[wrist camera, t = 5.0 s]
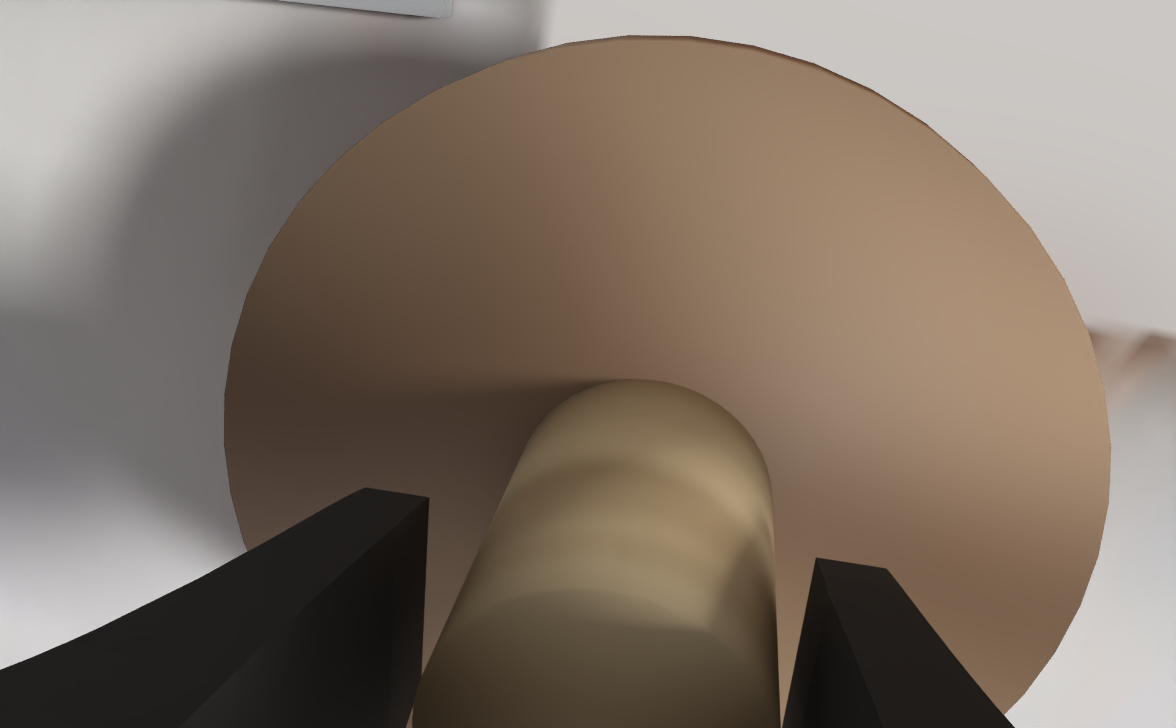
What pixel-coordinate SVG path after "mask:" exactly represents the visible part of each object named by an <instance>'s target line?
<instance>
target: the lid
mask: <svg viewBox="0 0 1176 728" xmlns="http://www.w3.org/2000/svg"><path fill="white" fill-rule="evenodd" d="M224 447H225V454H226V462H227V470H228V477H229V485H230V492H231V497H232V501H233V504H234V508H235V512H236V515H237V519H238V523H239V527H240V530H241V534H242V538H243V541H244V544H245V546H246V549H247V551H249V550H251V549H253V548H255V547H257V546H258V545H260V544H262V543H264V542H266V541H267V540H269V539H271V538H273V537H275V536H276V535H278V534H280V533H282V532H283V531H285V530H287V529H289V528H290V527H292V526H294V525H296V524H297V523H299V522H301V521H303V520H305V519H306V518H308V517H310V516H312V515H313V514H315V513H317V512H319V511H320V510H322V509H324V508H326V507H327V506H329V505H331V504H333V503H335V502H337V501H338V500H340V499H342V498H344V497H346V496H348V495H350V494H352V493H354V492H356V491H358V490H360V489H362V488H365V487H367V488H373V489H380V490H386V491H393V492H399V493H405V494H412V495H418V496H425V497H429V519H428V541H427V564H426V586H425V609H424V631H423V654H422V676H421V679H420V681H419V683H418V687H417V691H416V695H415V699H414V704H413V708H412V711H411V714H410V717H409V720H408V723H407V726H406V728H782V725H783V720H784V715H785V710H786V705H787V700H788V695H789V690H790V685H791V680H792V675H793V670H794V665H795V660H796V654H797V649H798V644H799V639H800V634H801V629H802V624H803V619H804V614H805V609H806V604H807V599H808V594H809V589H810V584H811V579H812V574H813V569H814V564H815V559H816V557H817V558H824V559H830V560H837V561H843V562H850V563H856V564H862V565H869V566H875V567H882V568H887V569H888V571H889V572H890V573H891V574H892V576H893V577H894V578H895V579H896V581H897V582H898V583H899V584H900V586H901V587H902V588H903V590H904V591H905V592H906V594H907V595H908V596H909V597H910V599H911V600H912V601H913V603H914V604H915V605H916V607H917V608H918V609H919V611H920V612H921V613H922V614H923V616H924V617H925V618H926V620H927V621H928V622H929V624H930V625H931V626H932V627H933V629H934V630H935V631H936V633H937V634H938V635H939V636H940V638H941V639H942V640H943V641H944V643H945V644H946V645H947V647H948V648H949V649H950V650H951V652H952V653H953V654H954V656H955V657H956V658H957V659H958V660H959V662H960V663H961V664H962V665H963V667H964V668H965V669H966V670H967V672H968V673H969V674H970V675H971V677H972V678H973V679H974V680H975V681H976V683H977V684H978V685H979V686H980V687H981V689H982V690H983V691H984V692H985V693H986V695H987V696H988V697H989V698H990V699H991V701H992V702H993V703H994V704H995V705H996V707H997V708H998V709H999V710H1000V711H1001V712H1002V714H1003V715H1004V714H1005V713H1006V712H1007V711H1008V710H1009V709H1010V708H1011V707H1012V706H1013V705H1014V704H1015V703H1016V702H1017V701H1018V700H1019V699H1020V698H1021V697H1022V696H1023V695H1024V694H1025V692H1026V691H1027V690H1028V688H1029V687H1030V686H1031V684H1032V683H1033V682H1034V680H1035V679H1036V678H1037V676H1038V675H1039V674H1040V672H1041V671H1042V669H1043V668H1044V667H1045V665H1046V664H1047V663H1048V661H1049V660H1050V659H1051V657H1052V656H1053V655H1054V653H1055V652H1056V650H1057V648H1058V646H1059V644H1060V642H1061V641H1062V639H1063V637H1064V635H1065V633H1066V631H1067V629H1068V628H1069V626H1070V624H1071V622H1072V620H1073V618H1074V616H1075V615H1076V613H1077V611H1078V609H1079V607H1080V605H1081V602H1082V599H1083V597H1084V594H1085V591H1086V588H1087V586H1088V583H1089V580H1090V577H1091V575H1092V572H1093V569H1094V566H1095V564H1096V561H1097V558H1098V555H1099V550H1100V544H1101V539H1102V534H1103V529H1104V524H1105V519H1106V514H1107V509H1108V504H1109V485H1110V461H1111V443H1110V434H1109V425H1108V416H1107V408H1106V399H1105V391H1104V387H1103V383H1102V380H1101V376H1100V372H1099V369H1098V365H1097V362H1096V358H1095V354H1094V351H1093V347H1092V343H1091V340H1090V336H1089V333H1088V331H1087V329H1086V327H1085V324H1084V322H1083V320H1082V318H1081V315H1080V313H1079V311H1078V309H1077V307H1076V304H1075V302H1074V300H1073V298H1072V295H1071V293H1070V291H1069V289H1068V287H1067V284H1066V282H1065V280H1064V278H1063V277H1062V275H1061V273H1060V272H1059V270H1058V269H1057V267H1056V266H1055V264H1054V263H1053V261H1052V260H1051V258H1050V257H1049V255H1048V253H1047V252H1046V251H1045V249H1044V247H1043V246H1042V244H1041V243H1040V241H1039V240H1038V238H1037V236H1036V235H1035V233H1034V232H1033V230H1032V229H1031V227H1030V226H1029V225H1028V224H1027V223H1026V221H1025V220H1024V219H1023V218H1022V217H1021V216H1020V215H1019V213H1018V212H1017V211H1016V210H1015V209H1014V208H1013V207H1012V205H1011V204H1010V203H1009V202H1008V201H1007V200H1006V199H1005V197H1004V196H1003V195H1002V194H1001V193H1000V192H999V191H998V190H997V188H996V187H995V186H994V185H993V184H992V183H991V182H990V180H989V179H988V178H987V177H986V176H984V174H983V173H982V172H981V171H980V170H979V169H978V168H977V167H976V166H975V165H974V164H973V163H971V162H970V161H969V160H968V159H967V158H966V157H965V156H963V155H962V154H961V153H960V152H958V151H957V150H956V149H955V148H954V147H953V146H952V145H950V144H949V143H948V142H947V141H946V140H945V139H943V138H942V137H941V136H940V135H939V134H937V133H936V132H935V131H934V130H933V129H932V128H930V127H929V126H928V125H927V124H926V123H924V122H923V121H921V120H919V119H918V118H916V117H914V116H913V115H912V114H910V113H909V112H906V111H905V110H904V109H902V108H900V107H899V106H897V105H896V104H894V103H893V102H891V101H889V100H888V99H886V98H885V97H883V96H881V95H880V94H878V93H877V92H875V91H874V90H872V89H870V88H868V87H865V86H863V85H861V84H859V83H857V82H854V81H852V80H850V79H848V78H845V77H843V76H841V75H839V74H837V73H834V72H832V71H830V70H828V69H826V68H823V67H821V66H819V65H816V64H814V63H811V62H808V61H804V60H801V59H797V58H794V57H790V56H787V55H784V54H780V53H777V52H773V51H770V50H767V49H763V48H760V47H757V46H753V45H746V44H740V43H733V42H726V41H719V40H713V39H706V38H700V37H693V36H640V35H639V36H638V35H628V36H620V37H612V38H603V39H595V40H587V41H580V42H572V43H565V44H562V45H558V46H554V47H550V48H547V49H543V50H539V51H535V52H532V53H528V54H524V55H521V56H517V57H513V58H509V59H507V60H505V61H502V62H500V63H498V64H495V65H493V66H490V67H488V68H486V69H483V70H481V71H479V72H476V73H474V74H472V75H469V76H467V77H465V78H462V79H460V80H458V81H455V82H453V83H451V84H449V85H446V86H444V87H442V88H440V89H438V90H436V91H434V92H432V93H430V94H429V95H427V96H425V97H424V98H422V99H420V100H419V101H417V102H415V103H414V104H412V105H410V106H409V107H407V108H406V109H404V110H402V111H401V112H399V113H397V114H396V115H394V116H392V117H391V118H389V119H387V120H386V121H384V122H382V123H381V124H380V125H379V126H378V127H376V128H375V129H374V130H373V131H372V132H370V133H369V134H368V135H367V136H365V137H364V138H363V139H362V140H361V141H359V142H358V143H357V144H356V145H355V146H353V147H352V148H351V149H350V150H349V151H347V152H346V153H345V154H344V155H342V156H341V157H340V158H339V159H338V160H337V161H336V162H335V163H334V164H333V165H332V166H331V167H330V168H329V170H328V171H327V172H326V173H325V174H324V175H323V176H322V177H321V178H320V180H319V181H318V182H317V183H316V184H315V185H314V186H313V187H312V188H311V189H310V191H309V192H308V193H307V194H306V195H305V196H304V197H303V198H302V199H301V201H300V202H299V203H298V205H297V206H296V208H295V209H294V211H293V212H292V214H291V215H290V217H289V218H288V220H287V221H286V223H285V224H284V226H283V227H282V229H281V230H280V232H279V233H278V235H277V236H276V238H275V239H274V241H273V242H272V244H271V245H270V247H269V249H268V251H267V253H266V255H265V257H264V260H263V262H262V264H261V266H260V268H259V270H258V272H257V275H256V277H255V279H254V281H253V283H252V285H251V287H250V289H249V292H248V294H247V296H246V300H245V303H244V306H243V310H242V313H241V316H240V320H239V323H238V326H237V330H236V333H235V336H234V340H233V343H232V348H231V355H230V361H229V368H228V375H227V382H226V388H225V400H224Z"/></svg>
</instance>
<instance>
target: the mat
mask: <svg viewBox="0 0 1176 728" xmlns="http://www.w3.org/2000/svg"><path fill="white" fill-rule="evenodd" d="M280 1H289V2H298V3H307V4H316V5H325V6H335V7H344V8H353V9H362V10H371V11H380V12H389V13H398V14H407V15H416V16H425V17H434V18H446V17H450V16H452V1H453V0H280Z"/></svg>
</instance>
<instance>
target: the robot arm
mask: <svg viewBox="0 0 1176 728" xmlns="http://www.w3.org/2000/svg"><path fill="white" fill-rule="evenodd" d="M428 519H429V497H425V496H418V495H412V494H405V493H399V492H393V491H386V490H380V489H373V488H367V487H365V488H362V489H360V490H358V491H356V492H354V493H352V494H350V495H348V496H346V497H344V498H342V499H340V500H338V501H337V502H335V503H333V504H331V505H329V506H327V507H326V508H324V509H322V510H320V511H319V512H317V513H315V514H313V515H312V516H310V517H308V518H306V519H305V520H303V521H301V522H299V523H297V524H296V525H294V526H292V527H290V528H289V529H287V530H285V531H283V532H282V533H280V534H278V535H276V536H275V537H273V538H271V539H269V540H267V541H266V542H264V543H262V544H260V545H258V546H257V547H255V548H253V549H251V550H249V551H248V552H246V553H244V554H242V555H240V556H239V557H237V558H235V559H233V560H231V561H230V562H228V563H226V564H224V565H222V566H221V567H219V568H217V569H215V570H213V571H212V572H210V573H208V574H206V575H204V576H202V577H200V578H199V579H197V580H194V581H192V582H190V583H188V584H186V585H184V586H182V587H180V588H178V589H176V590H174V591H172V592H170V593H168V594H166V595H164V596H162V597H160V598H158V599H156V600H154V601H152V602H150V603H148V604H146V605H144V606H142V607H140V608H138V609H136V610H134V611H132V612H130V613H128V614H126V615H124V616H122V617H120V618H118V619H116V620H114V621H112V622H110V623H108V624H106V625H104V626H102V627H100V628H98V629H96V630H93V631H91V632H89V633H87V634H84V635H82V636H80V637H78V638H76V639H73V640H71V641H69V642H67V643H64V644H62V645H60V646H57V647H55V648H53V649H50V650H48V651H46V652H43V653H41V654H39V655H36V656H34V657H32V658H29V659H27V660H24V661H22V662H19V663H17V664H14V665H11V666H9V667H6V668H4V669H1V670H0V728H406V726H407V723H408V720H409V717H410V714H411V711H412V708H413V704H414V699H415V695H416V691H417V687H418V683H419V681H420V679H421V676H422V654H423V631H424V609H425V586H426V564H427V541H428ZM782 728H1015V727H1014V726H1013V725H1012V724H1011V723H1010V722H1009V721H1008V719H1007V718H1006V717H1005V716H1004V715H1003V714H1002V712H1001V711H1000V710H999V709H998V708H997V707H996V705H995V704H994V703H993V702H992V701H991V699H990V698H989V697H988V696H987V695H986V693H985V692H984V691H983V690H982V689H981V687H980V686H979V685H978V684H977V683H976V681H975V680H974V679H973V678H972V677H971V675H970V674H969V673H968V672H967V670H966V669H965V668H964V667H963V665H962V664H961V663H960V662H959V660H958V659H957V658H956V657H955V656H954V654H953V653H952V652H951V650H950V649H949V648H948V647H947V645H946V644H945V643H944V641H943V640H942V639H941V638H940V636H939V635H938V634H937V633H936V631H935V630H934V629H933V627H932V626H931V625H930V624H929V622H928V621H927V620H926V618H925V617H924V616H923V614H922V613H921V612H920V611H919V609H918V608H917V607H916V605H915V604H914V603H913V601H912V600H911V599H910V597H909V596H908V595H907V594H906V592H905V591H904V590H903V588H902V587H901V586H900V584H899V583H898V582H897V581H896V579H895V578H894V577H893V576H892V574H891V573H890V572H889V571H888V569H887V568H882V567H875V566H869V565H862V564H856V563H850V562H843V561H837V560H830V559H824V558H817V557H816V559H815V564H814V569H813V574H812V579H811V584H810V589H809V594H808V599H807V604H806V609H805V614H804V619H803V624H802V629H801V634H800V639H799V644H798V649H797V654H796V660H795V665H794V670H793V675H792V680H791V685H790V690H789V695H788V700H787V705H786V710H785V715H784V720H783V725H782Z"/></svg>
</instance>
